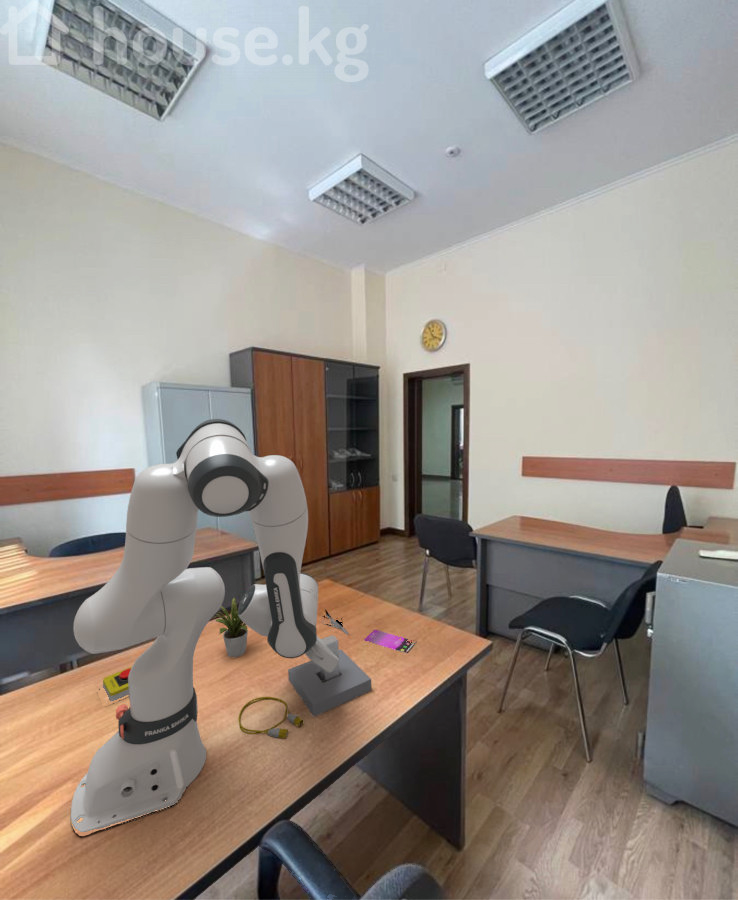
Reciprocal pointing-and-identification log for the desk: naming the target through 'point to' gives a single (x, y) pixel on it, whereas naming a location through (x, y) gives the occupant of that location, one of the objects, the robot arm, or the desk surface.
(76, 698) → the desk surface
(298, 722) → the extension cord
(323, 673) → the grey square post
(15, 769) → the desk surface
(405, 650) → the smartphone
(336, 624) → the toy airplane
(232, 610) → the house plant
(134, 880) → the desk surface
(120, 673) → the emergency button
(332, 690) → the block
